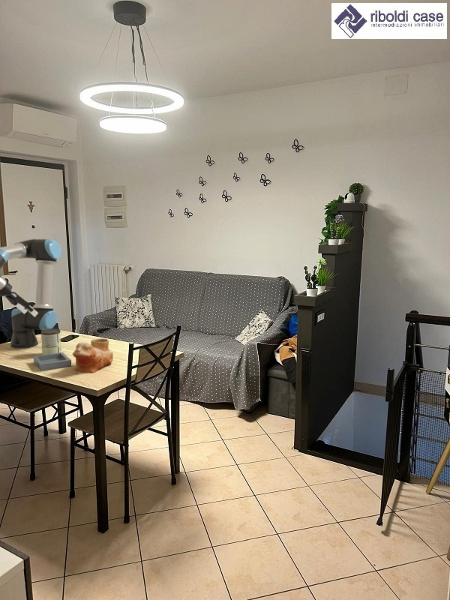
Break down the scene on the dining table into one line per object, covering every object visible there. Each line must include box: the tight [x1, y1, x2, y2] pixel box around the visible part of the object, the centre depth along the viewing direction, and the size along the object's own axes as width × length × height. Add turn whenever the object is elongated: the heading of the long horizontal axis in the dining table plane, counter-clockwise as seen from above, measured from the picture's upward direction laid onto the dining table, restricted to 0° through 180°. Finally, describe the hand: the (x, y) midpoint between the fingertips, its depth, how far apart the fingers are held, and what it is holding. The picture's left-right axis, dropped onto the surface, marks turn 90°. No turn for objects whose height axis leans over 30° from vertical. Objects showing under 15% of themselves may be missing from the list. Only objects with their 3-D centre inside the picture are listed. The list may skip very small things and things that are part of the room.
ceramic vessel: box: [72, 338, 114, 374], centre depth 229 cm, size 14×26×15 cm, turn 160°
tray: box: [33, 351, 72, 372], centre depth 234 cm, size 17×15×4 cm
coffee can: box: [40, 328, 62, 355], centre depth 250 cm, size 10×10×14 cm
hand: (31, 313), depth 240 cm, fingers open, 13 cm apart
